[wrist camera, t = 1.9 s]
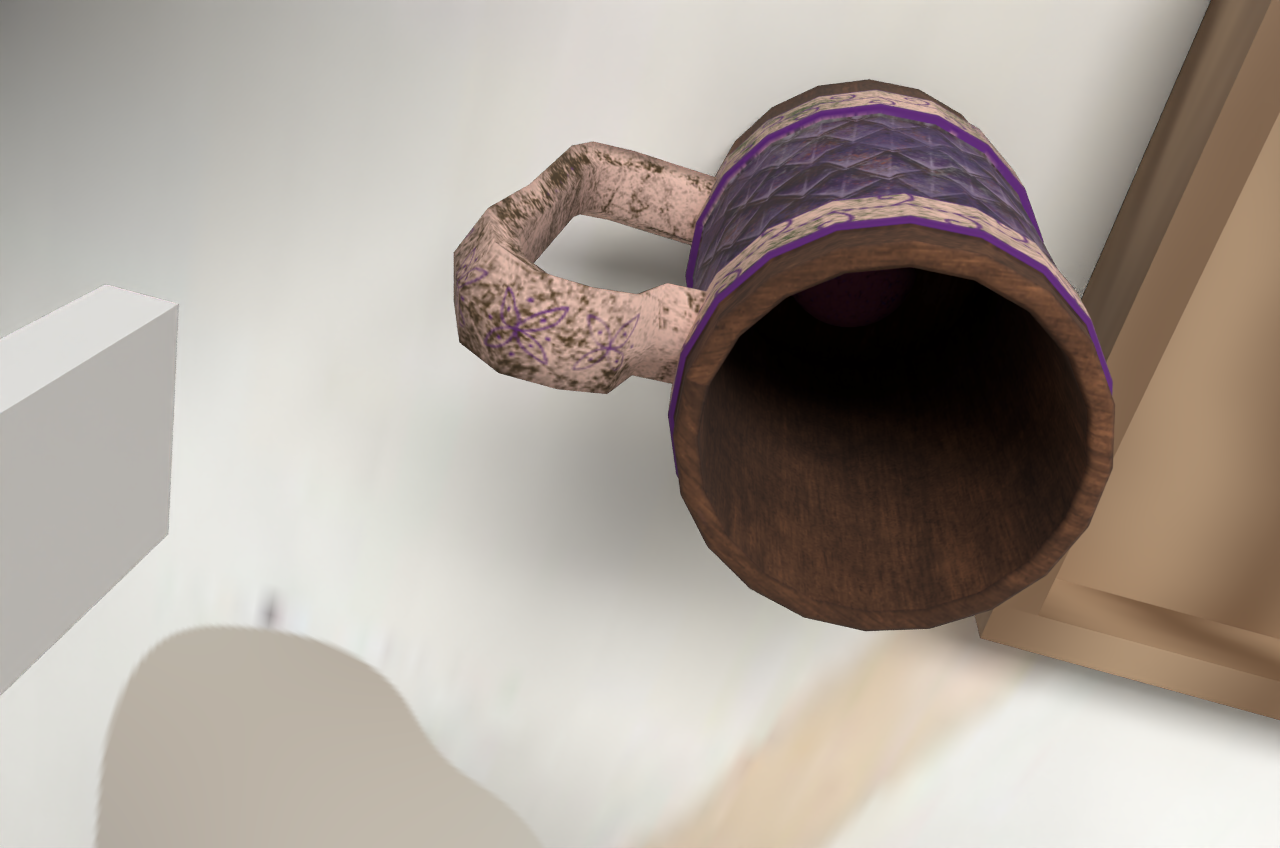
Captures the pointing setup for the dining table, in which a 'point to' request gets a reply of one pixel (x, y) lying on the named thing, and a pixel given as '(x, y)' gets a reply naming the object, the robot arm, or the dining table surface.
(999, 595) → the mug
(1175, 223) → the wooden divided tray
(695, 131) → the dining table surface
